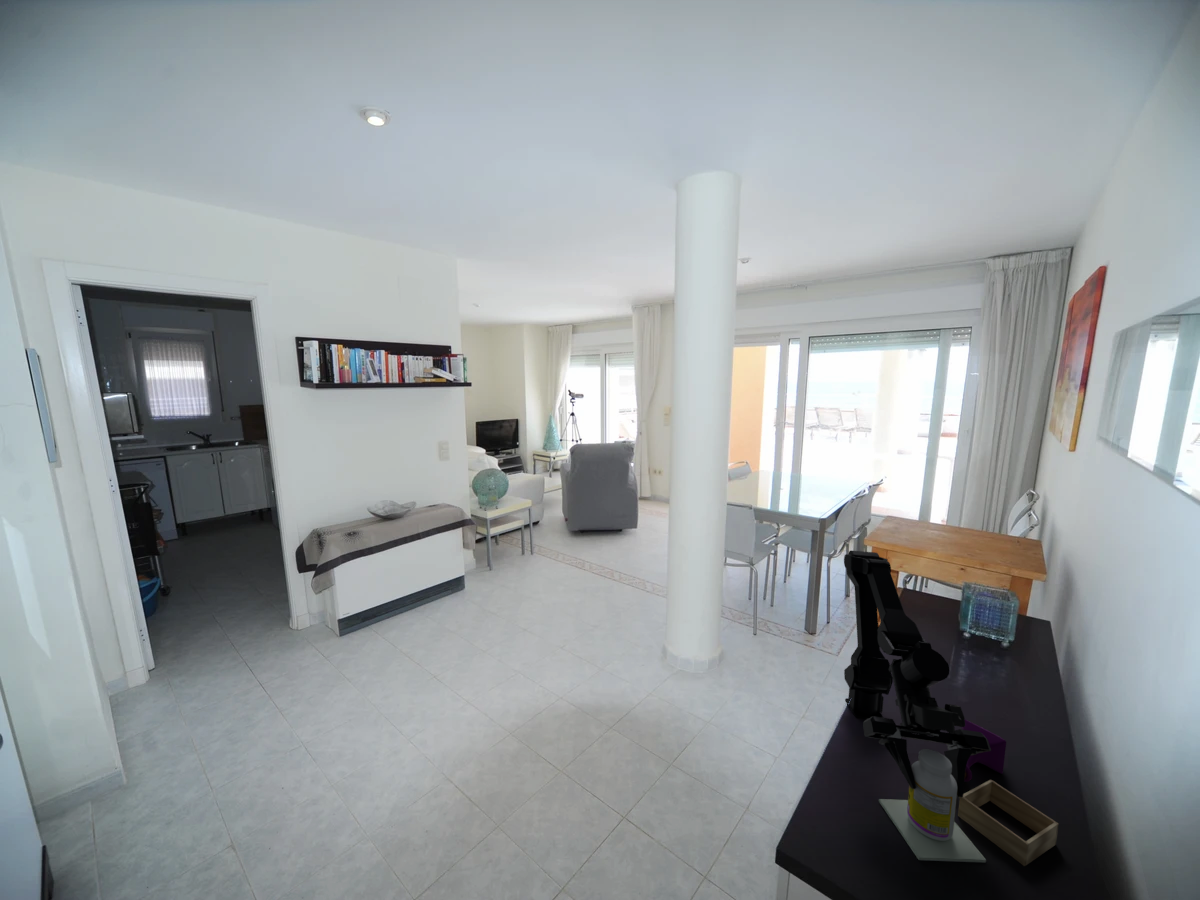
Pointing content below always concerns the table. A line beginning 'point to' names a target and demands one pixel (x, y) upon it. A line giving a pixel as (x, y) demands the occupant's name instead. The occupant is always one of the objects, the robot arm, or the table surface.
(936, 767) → the supplement bottle
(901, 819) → the sage mat
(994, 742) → the perfume bottle
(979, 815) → the wooden box
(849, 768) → the table surface
